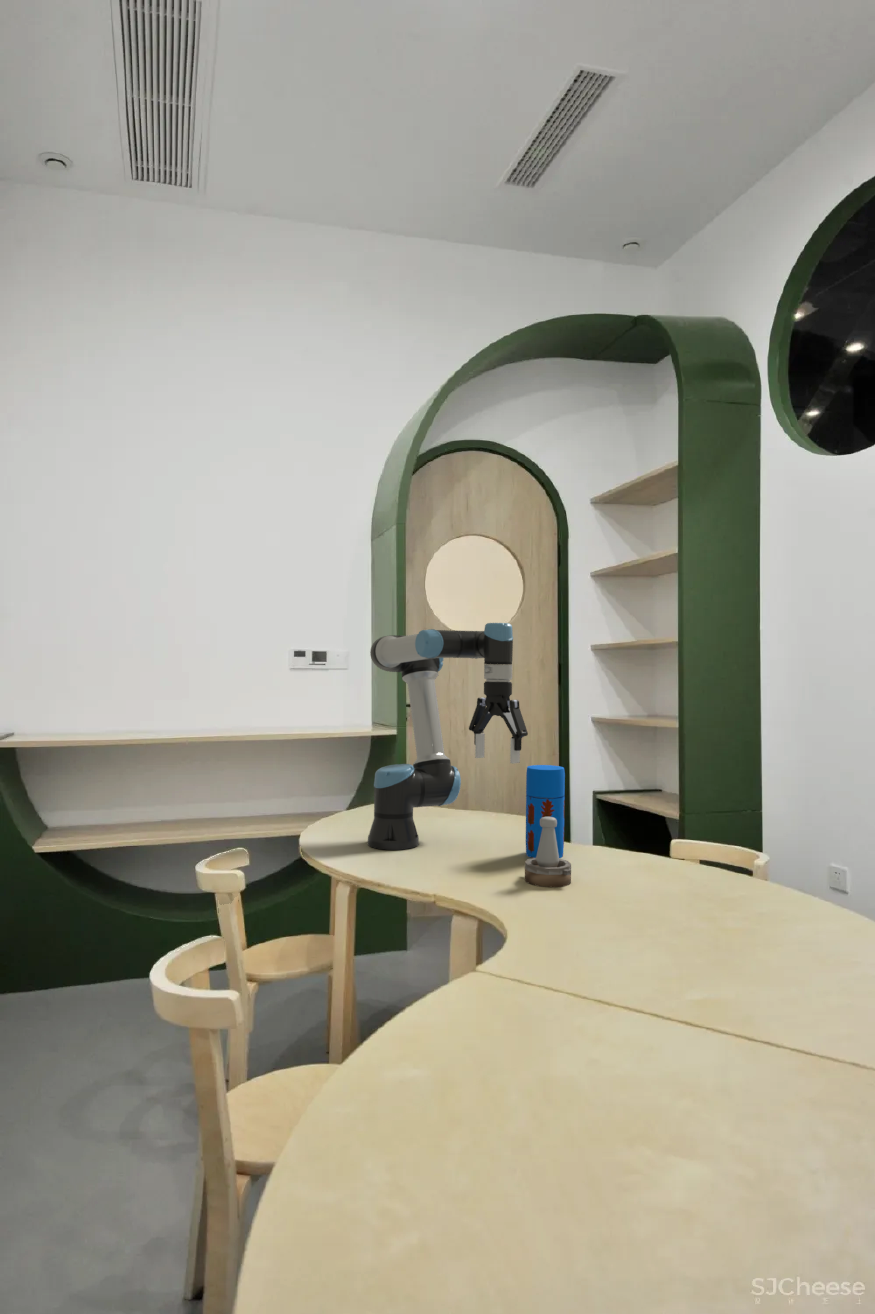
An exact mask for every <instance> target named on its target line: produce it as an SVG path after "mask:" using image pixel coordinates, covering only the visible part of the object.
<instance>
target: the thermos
mask: <svg viewBox="0 0 875 1314" xmlns="http://www.w3.org/2000/svg"><path fill="white" fill-rule="evenodd" d="M525 773H526V777H525V778H526V779H525V782H526V785H525V789H526V791H525V794H526V795H525V852H526V853H525V855H526V856H527V857H528V858H530V859H532V858H536V856H537V852H538V847H539V842H540V837H541V833H542V828H543V827H541V826H540V819H541V818H542V817H553V818H555V819H556V820H557V826H556V827H554V828H555V834H556V841H557V848H558V854H559V859H562V858H563V857H564V847H565V845H564V844H565V798H566V797H565V792H566V791H565V789H566V788H565V787H566V786H565V783H566V782H565V781H566V779H565V778H566V773H565V767H563V766H559V765H550V764H534V765H528V766H527V767H526V772H525Z"/></svg>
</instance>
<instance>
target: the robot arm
mask: <svg viewBox="0 0 875 1314" xmlns="http://www.w3.org/2000/svg"><path fill="white" fill-rule="evenodd" d="M513 644H514V636H513V625H512V624H511V623H508V622H487V623H485V624H484V630H447V629H446V630H445V629H444V630H443V629H434V628H431V629H421V630H420V631H419V632H418V633H415V634H414V633H413V634H410V635H397V634H391V635H390V634H389V635H383V636H381V637H379V638H377V639H375V640H374V641H373V643H372V644H371V647H370V651H369V652H370V655H369V656H370V659H371V661H372V663H373V665H375V666H376V667H377V668H379V669H380V670H382V671H385V672H389V673H400V674H401V678H402V679H401V680H402V681H403V682H405V683H406V684H407V689H408V697H409V705H410V713H411V719H412V720H411V721H412V727H413V735H414V744H415V751H416V753H415V754H416V759H415V760H414V762H413V764H410V763H400V764H399V763H395V764H390V765H386V766H382V767H380V768H378V769H377V770H376V771H375V773H374V782H373V798H374V799H373V801H374V802H373V820H372V822H371V823H372V824H371V827H370V830H369V833H368V836H367V845H368V846H369V847H371V848H374V849H378V850H386V851H387V850H388V851H389V850H390V851H391V850H392V851H399V850H409V849H413V848H415V847H418V846H419V842H420V841H419V840H420V839H419V834H418V831H417V827H416V825H415V821H414V808H423V807H436V806H437V807H441V806H444V805H445V806H446V805H450V804H452V803H454V802H455V801H456V800H457V798H458V796H459V794H460V791H461V784H462V779H461V774H460V771H459V769H458V767H456V766H454V765H452V762H451V758H449V756H447V755H446V754H445V749H444V741H443V740H444V739H443V734H442V727H441V726H442V725H441V719H440V718H441V717H440V711H439V704H438V696H437V689H436V683H435V682H436V681H435V680H436V679H437V678H438V676H439V672H440V671H441V670H442V668H443V665H444V659H447V658H449V659H450V658H451V659H484V660H483V661H484V662H483V665H484V666H483V667H484V668H483V678H484V680H485V681H484V682H483V695H485V697H478V698H477V699H476V706H475V710H474V711H473V715H472V718H471V721H470V723H469V726H468V730H469V731H470V732H472V733H473V735H474V743H473V744H474V747H475V749H474V750H475V751H474V752H475V753H474V755H475V757H474V758H475V759H480V758H485V753H486V751H485V749H486V748H485V743H486V742H485V740H486V739H485V738H486V737H485V735H486V734H485V731H484V730H485V729H486V727H487V725H488V724H489V722H490V721H491V719H492V717H493V716H494V717H495V716H496V717H500V718H502V719H503V721H504V723H505V725H506V727H507V728H508V730H509V733H510V734H511V736H512V737H511V738H510V753H509V754H510V755H509V756H510V757H509V758H510V759H509V764H520V762H521V760H520V759H521V757H520V756H521V751H522V739H523V738H524V737H528V734H529V733H528V729H527V726H526V723H525V721H524V717H523V715H522V712H521V708H520V700H519V699H511V696H512V695H513V683H512V681H511V680H513V652H514V650H513V649H514V645H513Z"/></svg>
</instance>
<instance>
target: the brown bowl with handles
mask: <svg viewBox="0 0 875 1314" xmlns="http://www.w3.org/2000/svg"><path fill="white" fill-rule="evenodd" d="M524 881H525V883H527V884H529V885H532V886H534V887H535V886H537V887H541V888H561V887H566V886H569V885H570V884H571V883H572V863H571V862H570V861H569V860H565V859H562V858H559V863H558V866H557V867H551V868H548V867H539V866H538V863H537V861H536V858H528V859H526V860H525V861H524Z"/></svg>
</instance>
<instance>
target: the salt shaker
mask: <svg viewBox="0 0 875 1314" xmlns="http://www.w3.org/2000/svg"><path fill="white" fill-rule="evenodd" d="M540 826H541V827H543V828H542V833H541V837H540V842H539V847H538V852H537V856H536V861H537V863H538V866H539V867H548V868H551V867H557V866H558V863H559V859H560V858H559V854H558V848H557V841H556V834H555V828H554V827H556V826H557V820H556V819H555V818H553V817H542V818H541V819H540Z"/></svg>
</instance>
